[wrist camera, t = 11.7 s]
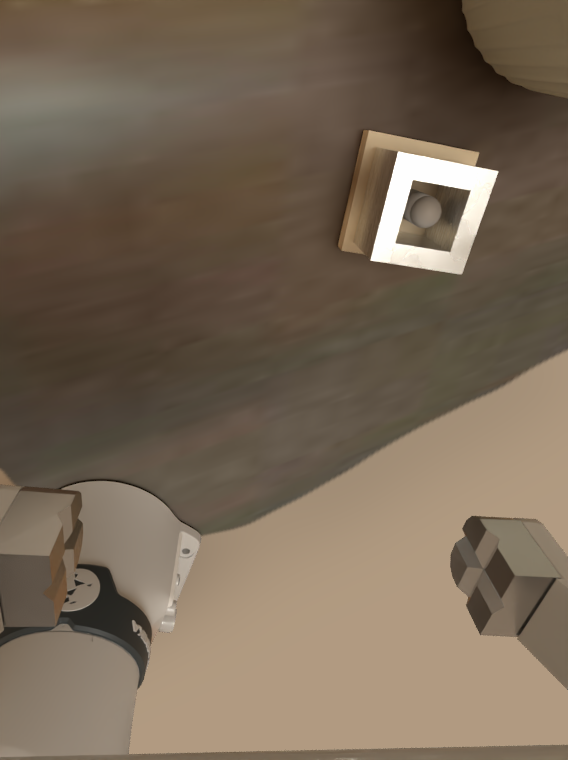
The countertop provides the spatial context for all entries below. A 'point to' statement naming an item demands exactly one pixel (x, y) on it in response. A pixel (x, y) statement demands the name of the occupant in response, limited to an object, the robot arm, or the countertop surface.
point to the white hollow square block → (442, 240)
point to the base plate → (421, 197)
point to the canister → (523, 41)
